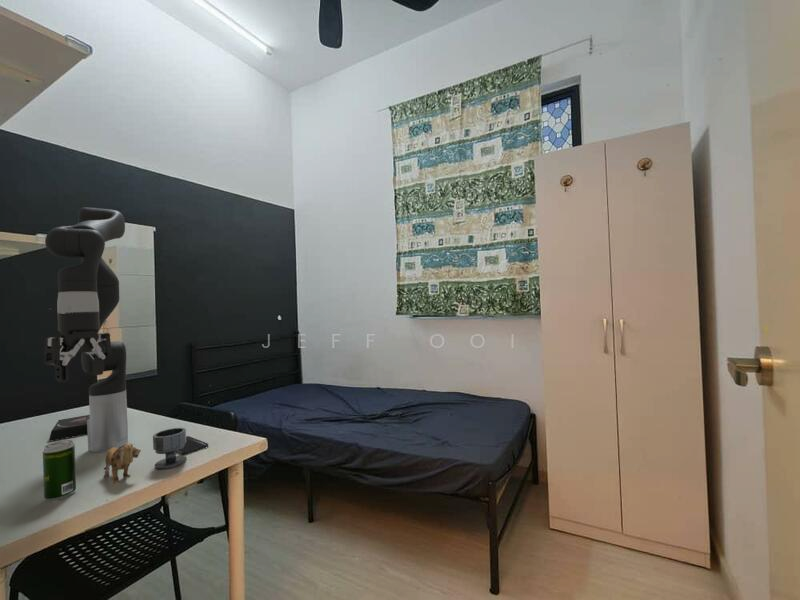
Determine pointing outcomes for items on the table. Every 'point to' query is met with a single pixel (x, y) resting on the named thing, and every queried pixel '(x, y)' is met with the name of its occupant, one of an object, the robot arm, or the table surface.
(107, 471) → the lion figurine
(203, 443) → the phone
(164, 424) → the table surface
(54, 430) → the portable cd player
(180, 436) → the cup bracket
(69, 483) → the green drink can
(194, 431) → the table surface
